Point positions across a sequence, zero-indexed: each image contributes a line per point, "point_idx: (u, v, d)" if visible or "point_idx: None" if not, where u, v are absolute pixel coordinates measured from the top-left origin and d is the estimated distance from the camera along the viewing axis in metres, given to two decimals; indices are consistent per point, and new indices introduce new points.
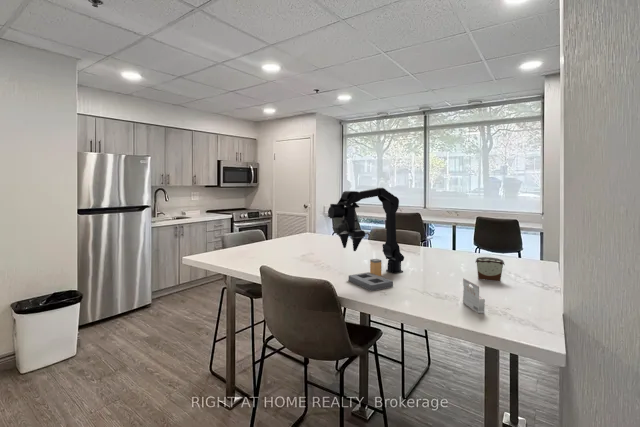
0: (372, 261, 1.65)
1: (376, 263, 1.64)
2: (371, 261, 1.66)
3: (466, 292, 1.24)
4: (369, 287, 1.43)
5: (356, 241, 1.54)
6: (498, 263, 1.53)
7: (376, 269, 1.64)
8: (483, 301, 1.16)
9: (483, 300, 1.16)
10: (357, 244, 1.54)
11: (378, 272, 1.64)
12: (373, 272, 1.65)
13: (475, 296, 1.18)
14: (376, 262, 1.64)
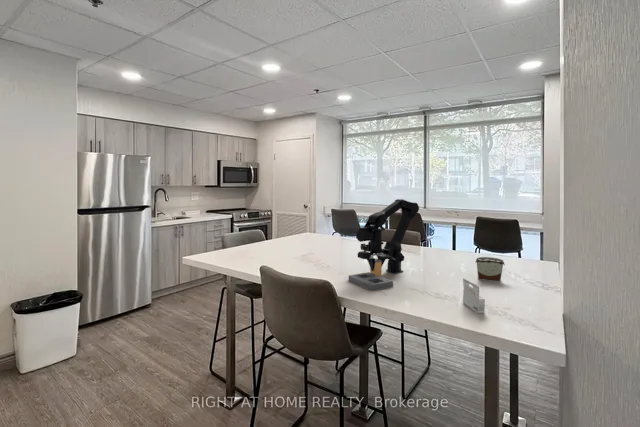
0: None
1: (376, 263, 1.64)
2: None
3: (466, 292, 1.24)
4: (369, 287, 1.43)
5: (370, 261, 1.64)
6: (498, 263, 1.53)
7: (376, 269, 1.64)
8: (483, 301, 1.16)
9: (483, 300, 1.16)
10: (371, 265, 1.64)
11: (378, 272, 1.64)
12: (373, 272, 1.65)
13: (475, 296, 1.18)
14: (376, 262, 1.64)
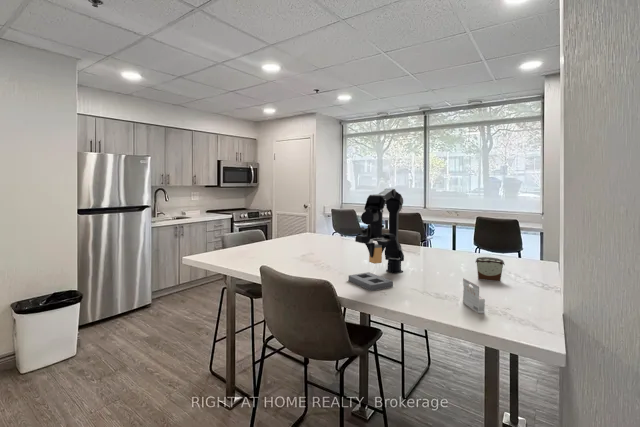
0: None
1: (376, 248, 1.47)
2: None
3: (466, 292, 1.24)
4: (369, 287, 1.43)
5: (369, 247, 1.47)
6: (498, 263, 1.53)
7: (376, 255, 1.47)
8: (483, 301, 1.16)
9: (483, 300, 1.16)
10: (370, 250, 1.47)
11: (377, 258, 1.47)
12: (372, 259, 1.48)
13: (475, 296, 1.18)
14: (376, 247, 1.47)
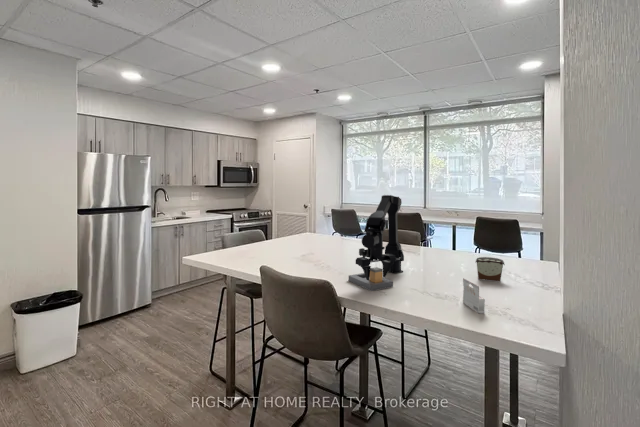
0: (372, 270, 1.47)
1: (376, 273, 1.46)
2: (371, 270, 1.48)
3: (466, 292, 1.24)
4: (369, 287, 1.43)
5: (365, 269, 1.45)
6: (498, 263, 1.53)
7: (376, 279, 1.46)
8: (483, 301, 1.16)
9: (483, 300, 1.16)
10: (366, 273, 1.45)
11: (378, 282, 1.47)
12: None
13: (475, 296, 1.18)
14: (376, 271, 1.46)
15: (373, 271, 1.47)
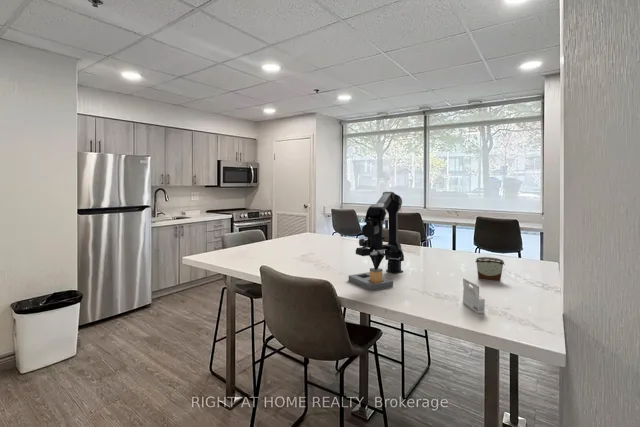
0: (372, 270, 1.47)
1: (376, 273, 1.46)
2: (371, 270, 1.48)
3: (466, 292, 1.24)
4: (369, 287, 1.43)
5: (373, 258, 1.47)
6: (498, 263, 1.53)
7: (376, 279, 1.46)
8: (483, 301, 1.16)
9: (483, 300, 1.16)
10: (374, 262, 1.46)
11: (378, 282, 1.47)
12: None
13: (475, 296, 1.18)
14: (376, 271, 1.46)
15: (373, 271, 1.47)
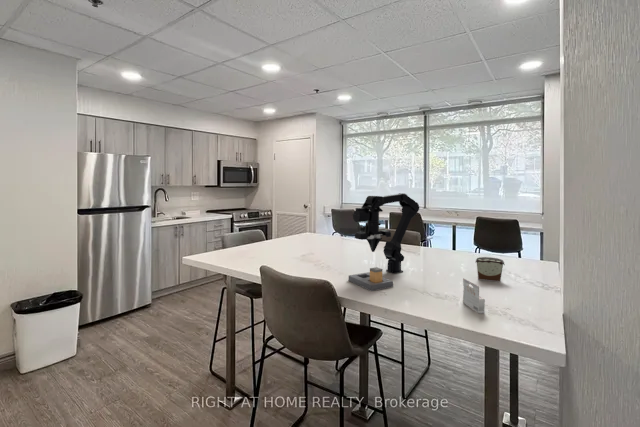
0: (372, 270, 1.47)
1: (376, 273, 1.46)
2: (371, 270, 1.48)
3: (466, 292, 1.24)
4: (369, 287, 1.43)
5: (371, 242, 1.65)
6: (498, 263, 1.53)
7: (376, 279, 1.46)
8: (483, 301, 1.16)
9: (483, 300, 1.16)
10: (371, 245, 1.64)
11: (378, 282, 1.47)
12: None
13: (475, 296, 1.18)
14: (376, 271, 1.46)
15: (373, 271, 1.47)
